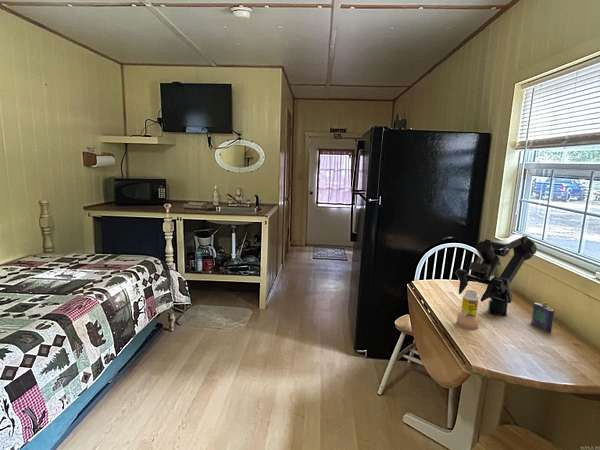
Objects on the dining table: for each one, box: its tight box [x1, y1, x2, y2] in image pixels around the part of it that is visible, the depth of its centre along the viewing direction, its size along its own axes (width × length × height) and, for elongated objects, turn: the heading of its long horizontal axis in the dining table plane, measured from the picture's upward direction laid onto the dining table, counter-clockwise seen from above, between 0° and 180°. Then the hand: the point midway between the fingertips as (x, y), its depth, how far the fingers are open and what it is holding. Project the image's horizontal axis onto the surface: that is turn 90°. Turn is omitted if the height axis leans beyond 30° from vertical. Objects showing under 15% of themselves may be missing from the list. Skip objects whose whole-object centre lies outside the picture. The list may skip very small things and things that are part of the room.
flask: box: [530, 301, 555, 333], centre depth 145 cm, size 9×3×11 cm, turn 8°
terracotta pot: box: [456, 311, 480, 331], centre depth 146 cm, size 8×8×4 cm
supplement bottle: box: [460, 289, 479, 318], centre depth 144 cm, size 6×6×10 cm
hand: (469, 297), depth 144 cm, fingers open, 9 cm apart
